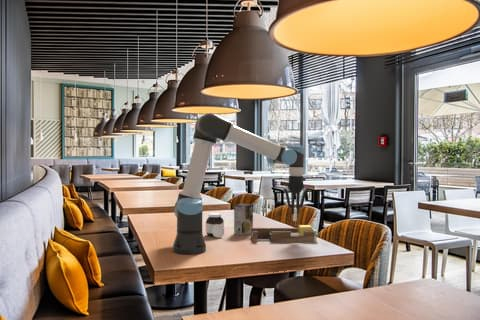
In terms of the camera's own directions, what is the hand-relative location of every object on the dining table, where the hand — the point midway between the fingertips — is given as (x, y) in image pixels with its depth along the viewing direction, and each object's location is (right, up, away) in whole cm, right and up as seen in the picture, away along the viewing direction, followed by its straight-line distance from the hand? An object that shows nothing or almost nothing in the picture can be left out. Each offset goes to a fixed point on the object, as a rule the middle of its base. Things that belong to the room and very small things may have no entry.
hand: (294, 220), depth 212 cm
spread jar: (-41, -10, +7) cm, 43 cm away
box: (-6, -10, 0) cm, 12 cm away
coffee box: (-27, -10, +14) cm, 32 cm away
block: (+5, -7, 0) cm, 9 cm away
